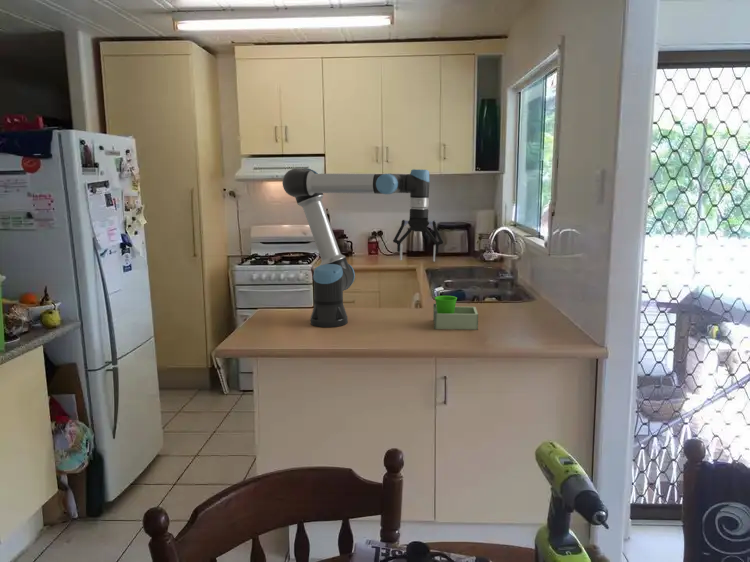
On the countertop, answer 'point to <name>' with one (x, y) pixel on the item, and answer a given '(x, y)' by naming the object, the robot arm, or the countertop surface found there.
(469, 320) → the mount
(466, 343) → the countertop surface
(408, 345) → the countertop surface
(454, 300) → the cup
